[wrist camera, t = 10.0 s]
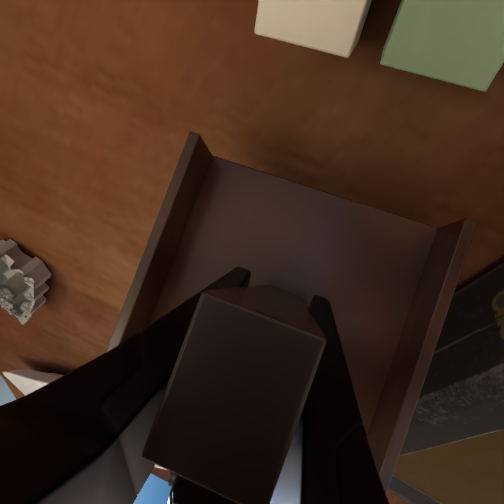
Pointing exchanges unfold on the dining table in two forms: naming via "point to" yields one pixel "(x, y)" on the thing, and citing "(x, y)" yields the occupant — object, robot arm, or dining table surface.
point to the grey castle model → (21, 281)
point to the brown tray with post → (283, 317)
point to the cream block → (314, 23)
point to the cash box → (460, 406)
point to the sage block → (448, 40)
